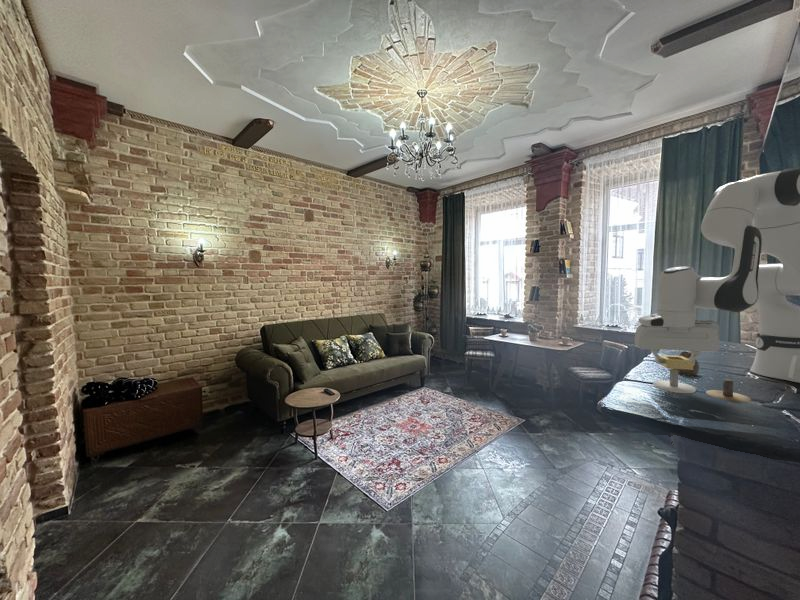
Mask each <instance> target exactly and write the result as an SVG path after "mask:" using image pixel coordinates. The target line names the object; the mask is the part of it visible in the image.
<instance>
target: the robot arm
mask: <svg viewBox="0 0 800 600" xmlns="http://www.w3.org/2000/svg"><path fill="white" fill-rule="evenodd" d="M709 203H710V204H709V205H708V206H707V208H706V209H707V210H706V212H705V213H704V216H703V219H702V221H701V225H700V232H701V234H702V236H703V237H704V238H705V239H706V240H708V241H709V242H712V243H713V244H717V245H719V246H724V247H728V248H732V249H734V255H733V263H732V268H731V273H729V274H728V275H726V276H702V275H699V274H698V273H696V271H695V269H694V267H692V266H685V265H684V266H676V267H673V266H672V267H668V268H666V269H664V270H662V271H661V272H660V275H659V280H658V287H657V298H658V307H657V312H656V313H652V314H648V315H644V316H641V317H639V318H638V323H639V325H638V326H637V327H636V330H635V334H634V346H635V347H637V348H639V349H640V350H650V351H651V352H650V353H651V354H652V355H653V357H654V361H655V364H658V365H660V364H663V358H661V357H659V355H660V350H661V351H662V350H663V351H680V352H683V351H685V352H690V353H691V354H692V355H691V357H690V358H687V359H689V360H692V361H693V365H695V360H697V359H698V358H699V357H700V355H701V352H713V353H714V352H715V353H716V352H717V351H719V350H720V345H721V344H720V337H719V332H720V325H719V324H718V323H717V322H716V321H714V320H710V319H709V320H708V319H707V320H702V319H696V316H697V315H696V311H697V309H696V308H699V309H706V310H719V311H724V312H732V313H741V312H743V311H746V310H748V309H749V308H751V307H753V306H754V305H755V308H756V310H757V315H758V316H757V317H758V332H757V333H756V339H755V347H756V352H755V356H754V361H753V362H752V365H751V367H750V369H749V371H750V372H752V373H754V374H757V375H759V376H762V377H763V376H764V377H769V378H774V379H779V380H785V381H790V382H794V383H798V384H800V307H798V306H796V305H793V304H791V303H790V302H789V301H788V300H787V298H786V296H800V167H797V168H796V167H795V168H794V167H793V168H785V169H783V170H779V171H778V170H777V171H773V172H767V173H762V174H757V175H754V176H751V177H748V178H744V179H741V180H738V181H734V182H733V181H731V182H728V183H726V184H724V185H721V186H719V187H718V188H717V189H716V190H715V191H714V192H713V194H712V197H711V202H709ZM762 253H763V254H765V255H769V256H772V257H774V258H776V259H777V260H778V261H779V262H780V263H760V262H761V254H762Z"/></svg>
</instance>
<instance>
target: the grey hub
mask: <svg viewBox="0 0 800 600" xmlns="http://www.w3.org/2000/svg"><path fill="white" fill-rule="evenodd" d="M678 371H679V370H676V369H670V368H669V380H662V379H661V380H655V381H654V380H653V382H652V385H653V386H654V387H655V388H656V389H660V390H662V391H667V392H671V393H677V394H694V393H695V392H696V391H697V389H696V387H695V386H694V385H690V384H687V383H685V382H679V374H678Z"/></svg>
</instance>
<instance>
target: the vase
mask: <svg viewBox="0 0 800 600" xmlns="http://www.w3.org/2000/svg"><path fill="white" fill-rule="evenodd" d="M680 352H681V353H680V354H679V355H678V356H683V357H685V358H690V357H691V355H692V354H693V353H691V351H680ZM699 364H700V363H699V362H698V360H697V359H696V360H695V365H693V370H689V369H676V370H679V371H678V375H686V376H687V375H689V376H698V374H699V372H700V365H699Z"/></svg>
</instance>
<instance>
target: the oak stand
mask: <svg viewBox="0 0 800 600" xmlns="http://www.w3.org/2000/svg"><path fill="white" fill-rule="evenodd" d="M722 381H723V384H722V385H723V386H722V390H719V389H709V390H706V392H705V393H706V394H707V395H709V396H711V397H713V398H715V399H720V400H723V401H729V402H736V403H737V402H738V403H739V402H740V403H741V402H742V403H748V402H749V403H750V402H751V401H752V398H750V397H749V396H746V394H745V395H744V394H741V393H737V392H734V380H732V379H729V378H723V379H722Z"/></svg>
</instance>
